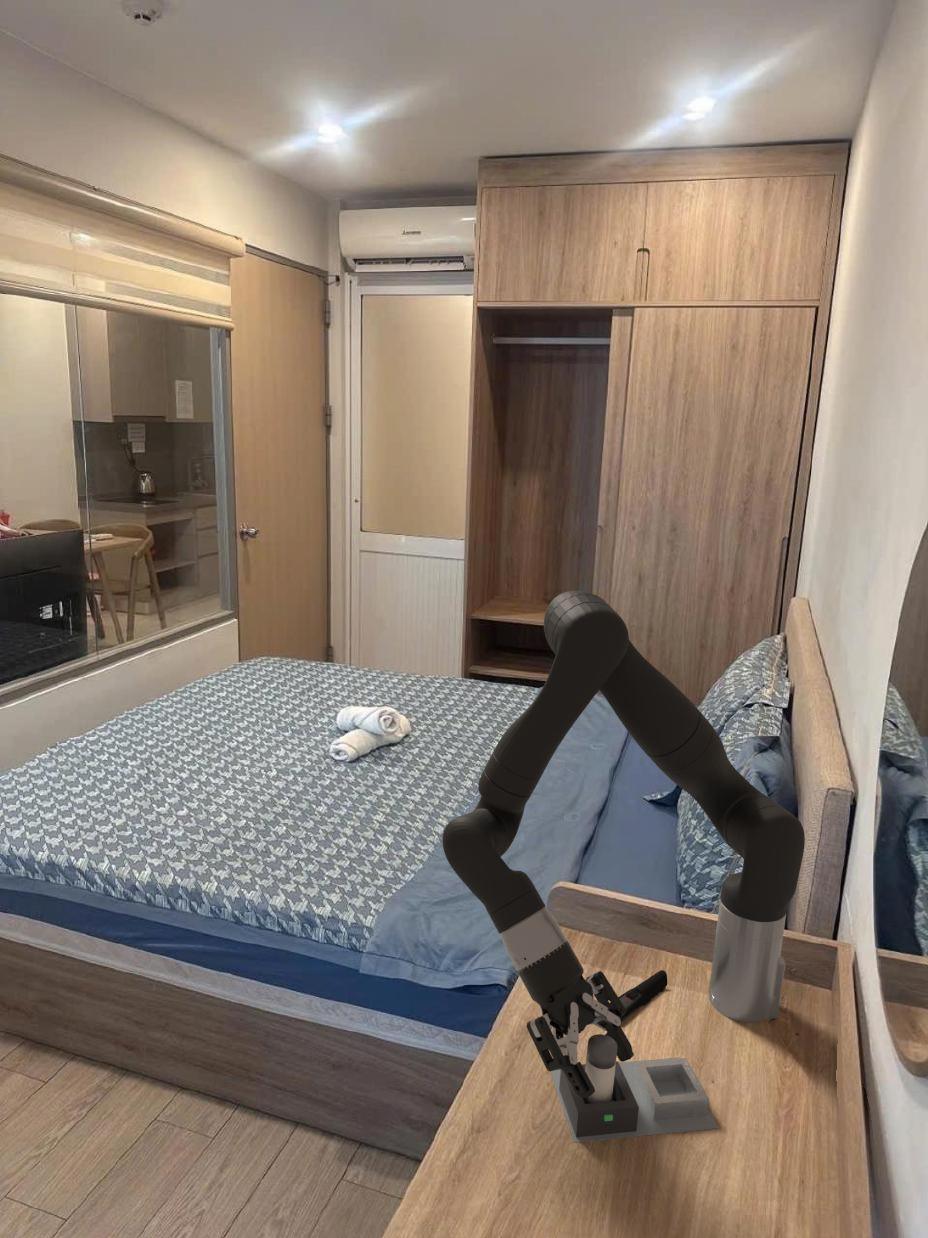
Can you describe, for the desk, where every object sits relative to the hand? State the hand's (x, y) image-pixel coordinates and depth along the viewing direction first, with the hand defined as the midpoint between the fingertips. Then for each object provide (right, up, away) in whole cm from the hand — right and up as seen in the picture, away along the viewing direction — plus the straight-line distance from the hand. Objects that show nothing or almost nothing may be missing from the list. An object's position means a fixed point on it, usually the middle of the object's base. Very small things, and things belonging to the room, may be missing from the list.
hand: (609, 1076), depth 106 cm
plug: (-1, -5, +2) cm, 6 cm away
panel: (+3, -6, +5) cm, 8 cm away
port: (-1, -5, +2) cm, 6 cm away
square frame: (+8, -5, +5) cm, 11 cm away
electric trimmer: (+7, -2, +23) cm, 24 cm away
